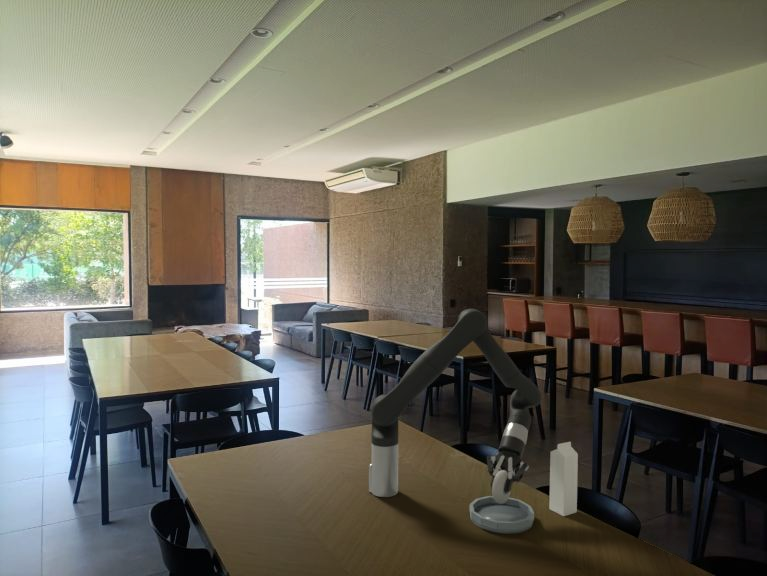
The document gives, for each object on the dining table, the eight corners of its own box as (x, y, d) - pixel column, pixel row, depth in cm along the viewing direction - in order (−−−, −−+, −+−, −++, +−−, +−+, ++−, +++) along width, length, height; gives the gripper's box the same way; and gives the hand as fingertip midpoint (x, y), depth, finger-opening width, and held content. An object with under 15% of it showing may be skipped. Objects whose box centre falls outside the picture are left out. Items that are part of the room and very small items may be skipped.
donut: (501, 510, 167) (500, 477, 166) (490, 507, 169) (490, 475, 168) (513, 498, 175) (512, 466, 175) (502, 496, 177) (502, 464, 177)
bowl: (459, 522, 169) (459, 512, 169) (484, 500, 185) (484, 491, 185) (520, 539, 159) (520, 528, 159) (541, 515, 175) (541, 505, 175)
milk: (576, 512, 177) (578, 444, 176) (563, 516, 174) (565, 447, 173) (562, 505, 182) (563, 438, 181) (548, 509, 179) (550, 441, 178)
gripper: (490, 431, 181) (474, 480, 172) (532, 438, 174) (519, 490, 164) (496, 442, 186) (481, 491, 176) (538, 450, 178) (524, 501, 169)
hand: (499, 490), depth 170 cm, fingers closed on donut, 3 cm apart
